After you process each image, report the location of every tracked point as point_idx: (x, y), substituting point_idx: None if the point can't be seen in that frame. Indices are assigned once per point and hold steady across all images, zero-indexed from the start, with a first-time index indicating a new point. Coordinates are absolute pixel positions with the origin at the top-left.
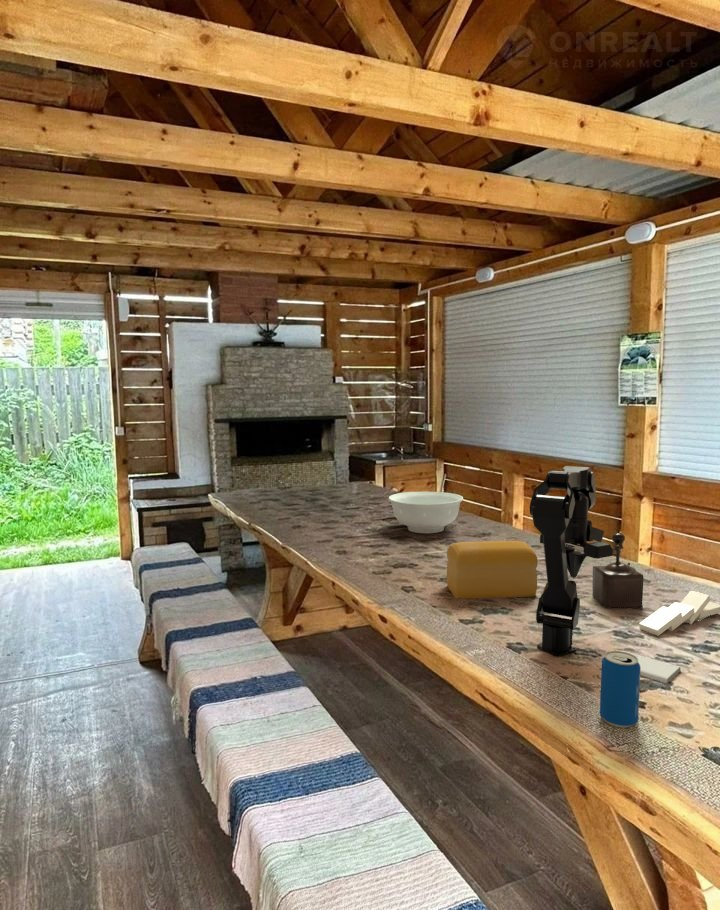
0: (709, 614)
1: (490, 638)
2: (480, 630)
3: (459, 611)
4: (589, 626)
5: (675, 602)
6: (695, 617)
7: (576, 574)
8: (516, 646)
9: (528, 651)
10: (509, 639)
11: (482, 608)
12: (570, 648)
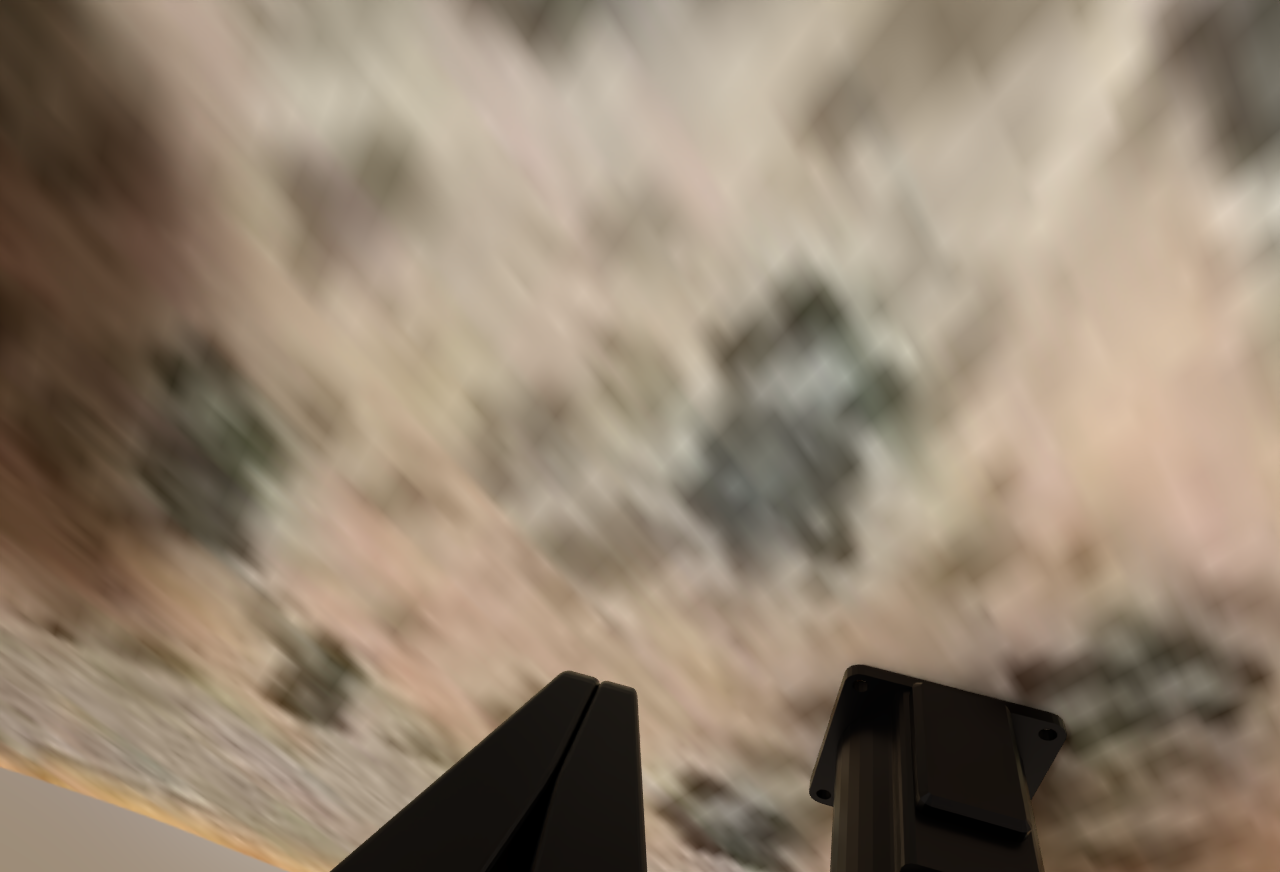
0: None
1: None
2: (446, 752)
3: (159, 608)
4: (875, 154)
5: None
6: None
7: (637, 761)
8: (722, 822)
9: (813, 842)
10: None
11: (144, 481)
12: (1022, 745)
